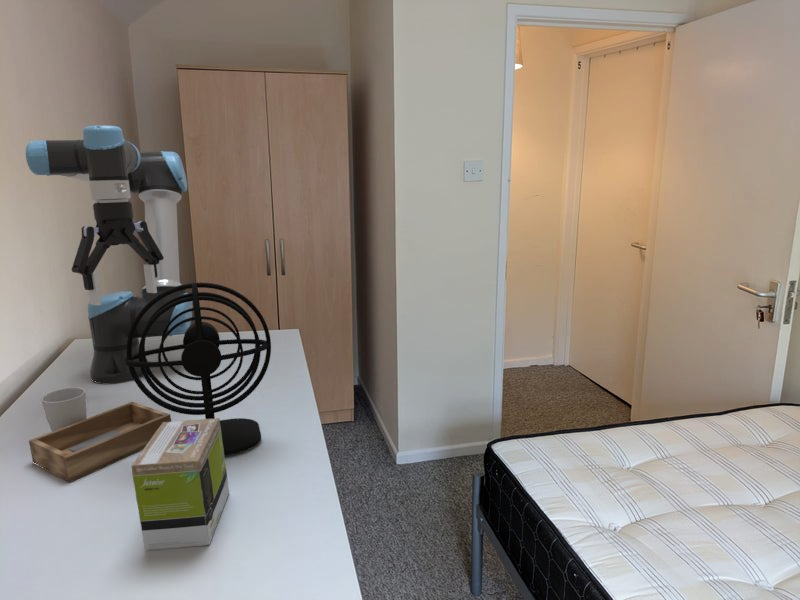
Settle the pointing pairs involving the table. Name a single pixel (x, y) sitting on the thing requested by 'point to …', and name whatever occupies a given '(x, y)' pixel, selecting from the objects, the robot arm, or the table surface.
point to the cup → (64, 407)
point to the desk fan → (203, 362)
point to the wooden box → (96, 441)
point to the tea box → (181, 484)
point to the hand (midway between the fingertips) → (125, 298)
